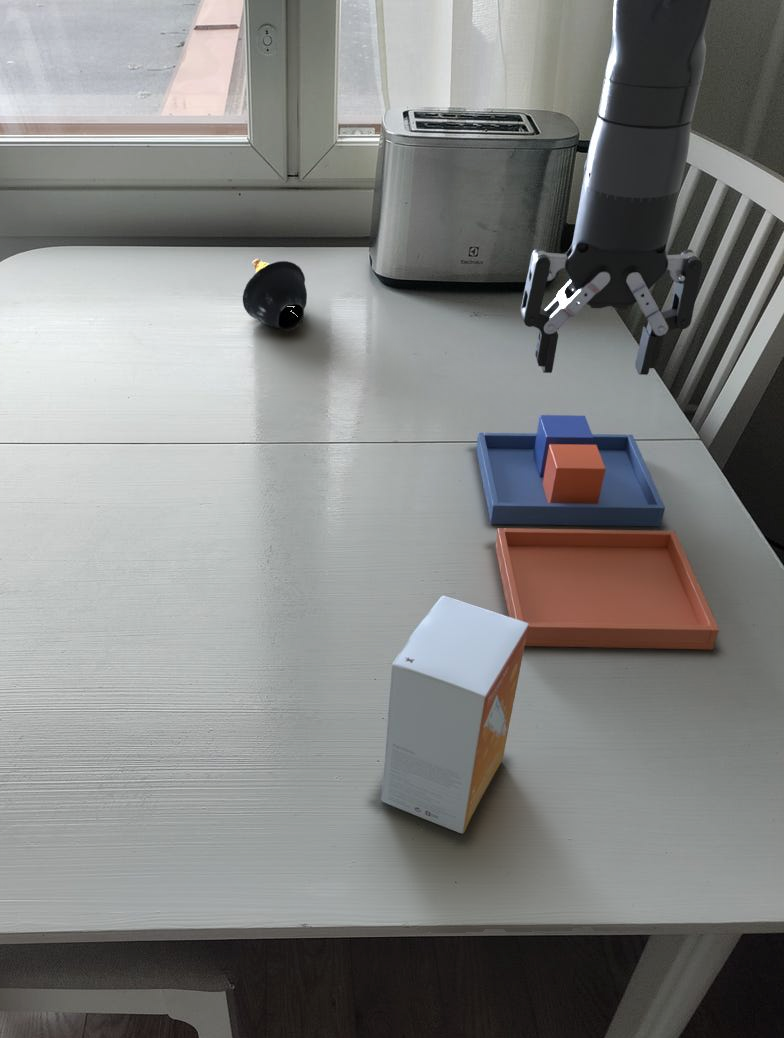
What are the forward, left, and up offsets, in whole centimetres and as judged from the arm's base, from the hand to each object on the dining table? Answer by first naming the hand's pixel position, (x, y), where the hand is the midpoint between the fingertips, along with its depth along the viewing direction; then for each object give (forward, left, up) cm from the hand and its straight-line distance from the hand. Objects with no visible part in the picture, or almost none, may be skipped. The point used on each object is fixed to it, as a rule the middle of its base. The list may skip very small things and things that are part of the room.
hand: (593, 370), depth 89 cm
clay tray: (0, +15, -14) cm, 21 cm away
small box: (+15, +37, -14) cm, 42 cm away
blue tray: (0, -3, -14) cm, 14 cm away
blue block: (0, -6, -13) cm, 15 cm away
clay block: (0, 0, -13) cm, 13 cm away
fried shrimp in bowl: (+32, -47, -14) cm, 58 cm away
